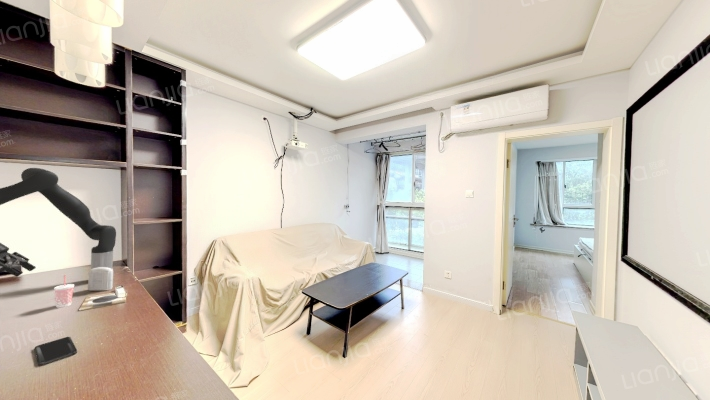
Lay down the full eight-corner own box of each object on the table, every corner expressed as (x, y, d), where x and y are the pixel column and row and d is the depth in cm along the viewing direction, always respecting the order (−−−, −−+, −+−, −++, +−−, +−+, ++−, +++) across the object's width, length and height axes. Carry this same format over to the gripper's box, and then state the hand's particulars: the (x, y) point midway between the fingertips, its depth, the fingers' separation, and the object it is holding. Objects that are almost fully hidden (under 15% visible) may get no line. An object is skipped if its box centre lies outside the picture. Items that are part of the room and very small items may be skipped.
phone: (38, 364, 73) (34, 346, 81) (38, 368, 73) (34, 349, 81) (78, 351, 80) (70, 335, 88) (78, 354, 80) (70, 338, 88)
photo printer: (114, 288, 135) (115, 266, 135) (107, 290, 131) (108, 268, 131) (93, 288, 133) (94, 266, 133) (86, 291, 129) (86, 268, 129)
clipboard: (87, 297, 121) (87, 295, 121) (127, 291, 131) (127, 288, 131) (78, 311, 108) (78, 308, 108) (124, 302, 117) (125, 300, 117)
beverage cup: (59, 309, 109) (60, 278, 109) (49, 307, 110) (50, 276, 110) (77, 303, 115) (78, 274, 115) (67, 301, 116) (68, 273, 116)
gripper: (-18, 244, 96) (25, 269, 102) (8, 238, 109) (46, 261, 114) (-41, 258, 94) (5, 283, 99) (-11, 251, 106) (28, 274, 112)
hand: (27, 271), depth 107 cm, fingers open, 8 cm apart
